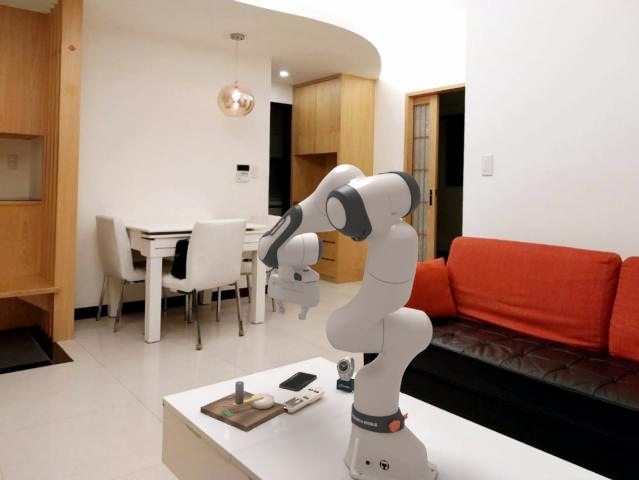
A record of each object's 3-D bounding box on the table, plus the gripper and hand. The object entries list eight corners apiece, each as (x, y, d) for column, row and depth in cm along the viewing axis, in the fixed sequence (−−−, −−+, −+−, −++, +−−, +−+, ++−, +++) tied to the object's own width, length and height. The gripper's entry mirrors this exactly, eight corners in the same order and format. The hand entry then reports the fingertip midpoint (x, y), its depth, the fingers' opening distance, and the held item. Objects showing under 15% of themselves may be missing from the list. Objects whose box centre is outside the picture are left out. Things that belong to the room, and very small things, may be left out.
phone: (277, 385, 166) (299, 371, 180) (277, 388, 166) (299, 374, 180) (298, 390, 163) (318, 375, 176) (298, 393, 163) (318, 378, 176)
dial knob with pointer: (266, 397, 154) (266, 371, 153) (278, 405, 148) (279, 378, 147) (227, 407, 145) (227, 380, 144) (239, 416, 140) (239, 388, 139)
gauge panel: (286, 410, 149) (286, 405, 149) (246, 431, 135) (246, 425, 135) (241, 394, 160) (241, 389, 160) (200, 412, 146) (200, 406, 146)
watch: (333, 391, 165) (334, 359, 164) (344, 383, 172) (345, 352, 171) (348, 394, 162) (349, 362, 161) (358, 386, 169) (360, 355, 168)
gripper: (263, 268, 154) (262, 311, 155) (308, 277, 140) (306, 325, 141) (278, 266, 158) (277, 308, 160) (323, 275, 144) (322, 321, 145)
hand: (291, 316), depth 150 cm, fingers open, 8 cm apart
